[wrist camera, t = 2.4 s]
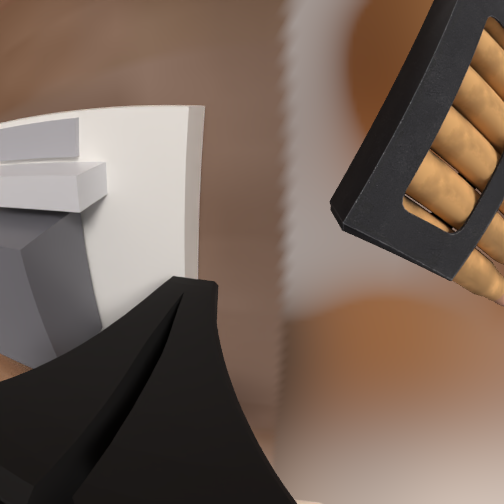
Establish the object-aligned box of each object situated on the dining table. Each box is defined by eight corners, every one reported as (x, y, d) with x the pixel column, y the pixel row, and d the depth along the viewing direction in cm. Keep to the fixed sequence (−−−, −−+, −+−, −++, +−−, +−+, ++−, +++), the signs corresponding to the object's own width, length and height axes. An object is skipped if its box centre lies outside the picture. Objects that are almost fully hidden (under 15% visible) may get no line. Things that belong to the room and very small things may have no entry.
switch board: (199, 355, 14) (183, 416, 11) (-32, 292, 14) (-60, 320, 11) (205, 105, 9) (169, 107, 6) (-65, 141, 9) (-106, 159, 6)
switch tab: (102, 327, 11) (69, 382, 8) (31, 308, 11) (-5, 351, 8) (79, 206, 8) (20, 250, 6) (4, 202, 8) (-50, 235, 6)
